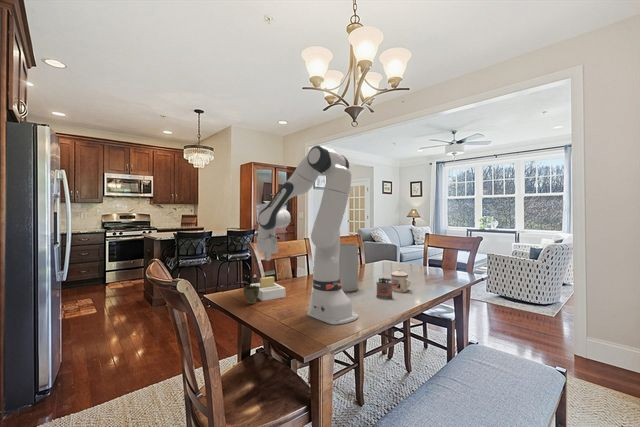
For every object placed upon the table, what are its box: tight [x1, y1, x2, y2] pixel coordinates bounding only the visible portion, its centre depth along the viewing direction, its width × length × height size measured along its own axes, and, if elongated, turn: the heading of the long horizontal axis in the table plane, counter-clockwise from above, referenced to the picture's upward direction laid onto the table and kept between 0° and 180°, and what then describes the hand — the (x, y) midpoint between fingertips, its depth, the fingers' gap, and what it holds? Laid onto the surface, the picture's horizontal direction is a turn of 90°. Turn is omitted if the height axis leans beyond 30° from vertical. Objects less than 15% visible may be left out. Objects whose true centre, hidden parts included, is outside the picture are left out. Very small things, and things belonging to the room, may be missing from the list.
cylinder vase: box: [339, 243, 359, 293], centre depth 162 cm, size 12×12×25 cm
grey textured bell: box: [243, 285, 259, 305], centre depth 137 cm, size 8×7×8 cm
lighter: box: [375, 276, 393, 300], centre depth 146 cm, size 8×3×10 cm, turn 68°
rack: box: [249, 282, 286, 302], centre depth 152 cm, size 18×13×4 cm
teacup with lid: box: [390, 268, 412, 293], centre depth 159 cm, size 12×9×12 cm
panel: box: [259, 276, 275, 288], centre depth 152 cm, size 2×7×8 cm, turn 122°
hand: (267, 260), depth 151 cm, fingers closed
